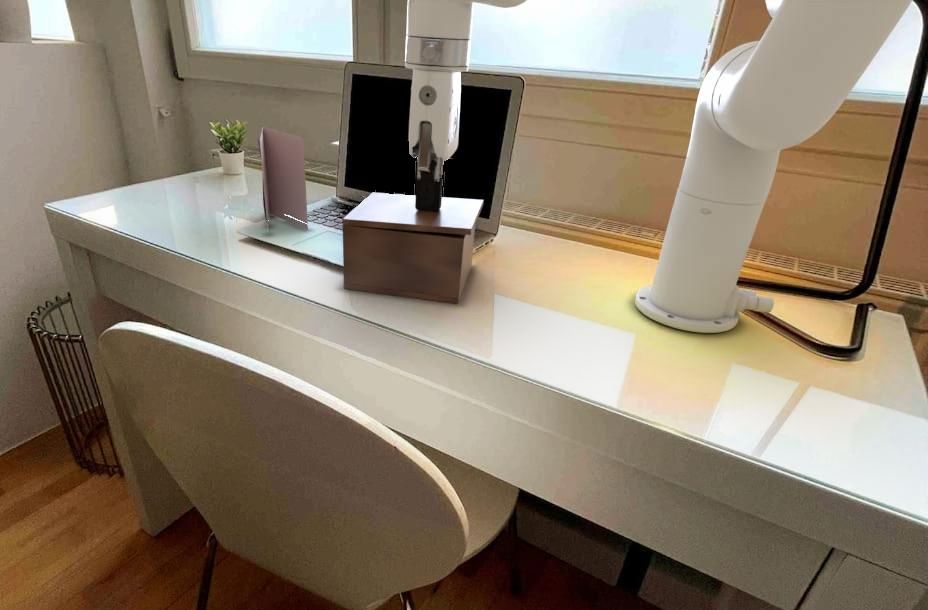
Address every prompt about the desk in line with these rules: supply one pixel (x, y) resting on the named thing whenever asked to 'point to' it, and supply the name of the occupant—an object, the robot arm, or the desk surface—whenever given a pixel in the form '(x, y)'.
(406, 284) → the box
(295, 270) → the desk surface
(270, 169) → the greeting card
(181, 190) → the desk surface
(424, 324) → the desk surface
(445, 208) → the box lid
